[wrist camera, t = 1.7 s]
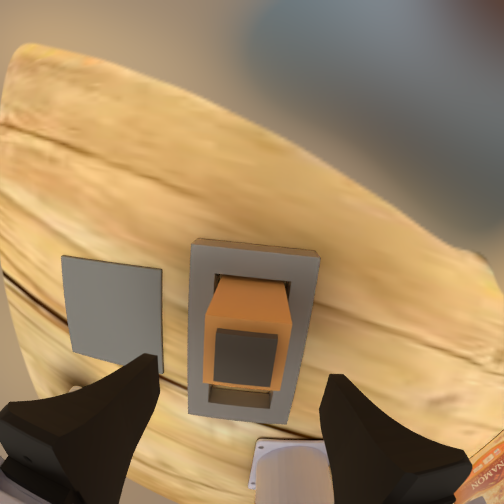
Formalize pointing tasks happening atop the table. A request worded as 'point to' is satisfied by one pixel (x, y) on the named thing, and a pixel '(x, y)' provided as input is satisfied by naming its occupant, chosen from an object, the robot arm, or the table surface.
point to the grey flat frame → (200, 295)
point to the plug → (247, 333)
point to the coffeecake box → (485, 475)
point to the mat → (113, 309)
